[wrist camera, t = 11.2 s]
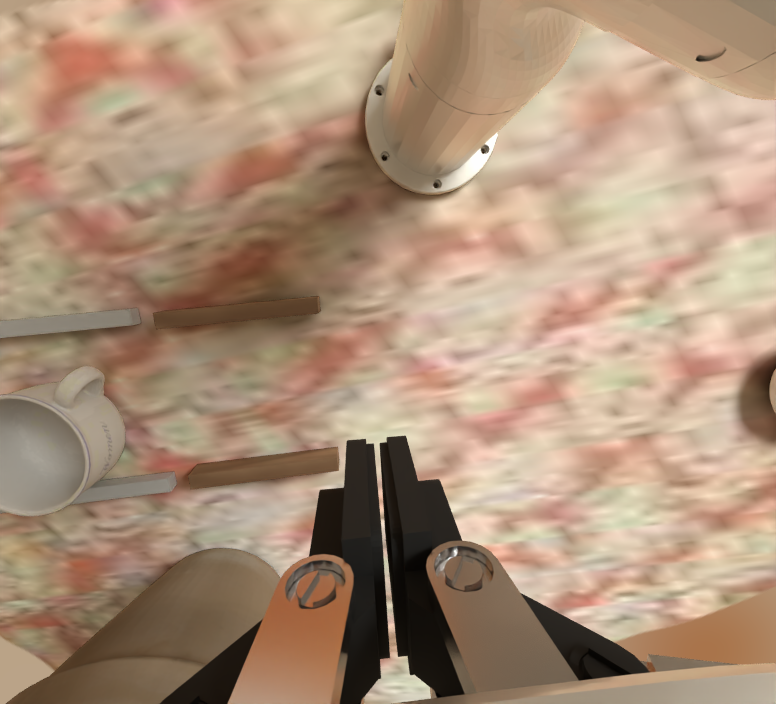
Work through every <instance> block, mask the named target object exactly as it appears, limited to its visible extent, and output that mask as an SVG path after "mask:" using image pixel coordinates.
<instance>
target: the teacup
mask: <svg viewBox="0 0 776 704" xmlns="http://www.w3.org/2000/svg"><path fill="white" fill-rule="evenodd" d="M104 381H105V377H104V374H103V373H102V372H101V371H100V370H98V369H97V368H94V367H92V366H82V367H80V368H77V369H75V370H74V371H72V372H71V373H69V374H68V375H67V376H66V377H65V378H64V379H63V380H62V381H61V382H54V383H47V384H42V385H37V386H33V387H30V388H26V389H23V390H19V391H16V392H12V393H9V394H4V395H0V510H2V511H5V512H7V513H11V514H16V515H19V516H41V515H47V514H51V513H54V512H56V511H59V510H61V509H63V508H65V507H66V506H68V505H69V504H71V503H72V502H73V501H75V500H76V499H77V498H78V496H79V495H80V494H82V493H83V492H84V491H86V490H87V489H89V488H90V487H91V486H92V485H94V484H95V483H96V482H97V481H99V480H100V479H101V478H102V477H103V476H105V475H106V474H107V473H108V472H109V471H110V470H111V469H112V467H113V466H114V465H115V464H116V463H117V461H118V459H119V458H120V456H121V454H122V452H123V449H124V445H125V438H126V432H125V426H124V422H123V419H122V417H121V414H120V412H119V411H118V409H117V408H116V407H115V405H114V404H113V403H112V402H111V401H110V400H109V399H108V398H107V397H106V396H104V388H103V387H104Z"/></svg>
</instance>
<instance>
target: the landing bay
mask: <svg viewBox="0 0 776 704" xmlns="http://www.w3.org/2000/svg"><path fill="white" fill-rule="evenodd" d="M140 323H141V320H140V315H139V311H138V308H132V309H121V310H111V311H100V312H89V313H79V314H68V315H57V316H47V317H36V318H25V319H15V320H4V321H0V338H6V337H16V336H27V335H37V334H47V333H58V332H68V331H78V330H89V329H99V328H109V327H120V326H130V325H136V324H140ZM176 485H177V481H176V477H175V472H174V471H173V472H165V473H157V474H149V475H141V476H133V477H125V478H117V479H109V480H101V481H97V482H96V483H95V484H94V485H92V486H91V487H90V488H89V489H87V490H86V491H84V492H83V493H82V494H80V495H79V496H78V498H77V499H76V500H75V501H73V502H72V503H71V504H79V503H87V502H94V501H102V500H110V499H118V498H126V497H134V496H141V495H149V494H157V493H165V492H171V491H172V490H173V489H174V487H175V486H176ZM71 504H69V505H71ZM0 513H7V512H5V511H2V510H0Z"/></svg>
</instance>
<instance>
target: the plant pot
mask: <svg viewBox="0 0 776 704" xmlns="http://www.w3.org/2000/svg"><path fill="white" fill-rule="evenodd" d="M280 579H281V578H280V577H279V575H278V574H277V573H276V571H275V570H274V569H273V568H272V567H271V566H270V565H269V564H267V563H266V562H265V561H263V560H262V559H260V558H259V557H257V556H255V555H252V554H250V553H247V552H244V551H241V550H236V549H226V548H215V549H209V550H204V551H200V552H197V553H195V554H192V555H190V556H188V557H186V558H184V559H183V560H181V561H180V562H178V563H177V564H176V565H174V566H173V567H172V568H171V569H170V570H168V571H167V572H166V573H165V574H164V575H162V576H161V577H160V578H159V579H158V580H157V581H155V582H154V583H153V584H152V585H151V586H150V587H148V588H147V589H146V590H145V591H144V592H143V593H142V594H140V595H139V596H138V597H137V598H136V599H135V600H134V601H132V602H131V603H130V604H129V605H128V606H127V607H126V608H125V609H123V610H122V611H121V612H120V613H119V614H118V615H117V616H116V617H114V618H113V619H112V620H111V621H110V622H109V623H108V624H107V625H105V626H104V627H103V628H102V629H101V630H100V631H99V632H98V633H96V634H95V635H94V636H93V637H92V638H91V639H90V640H89V641H87V642H86V643H85V644H84V645H83V646H82V647H81V648H80V649H78V650H77V651H76V652H75V653H74V654H73V655H72V656H71V657H70V658H69V659H68V660H66V661H65V662H64V663H63V664H62V665H61V666H60V667H59V668H58V669H57V670H56V671H55V672H53V673H52V674H51V675H50V676H49V677H47V678H45V679H43V680H41V681H39V682H37V683H36V684H34V685H32V686H30V687H28V688H27V689H25V690H24V691H22V692H21V693H19V694H18V695H16V696H15V697H14V698H12V699H11V700H10V701H9V702H7V703H6V704H160V703H161V702H162V701H163V700H164V699H165V698H166V697H167V696H169V695H170V694H171V693H172V692H174V691H175V690H176V689H177V688H178V687H180V686H181V685H182V684H183V683H185V682H186V681H187V680H188V679H190V678H191V677H192V676H193V675H194V674H196V673H197V672H198V671H199V670H201V669H202V668H203V667H204V666H206V665H207V664H208V663H209V662H210V661H212V660H213V659H214V658H215V657H217V656H218V655H219V654H220V653H221V652H223V651H224V650H225V649H226V648H228V647H229V646H230V645H231V644H233V643H234V642H235V641H236V640H237V639H239V638H240V637H241V636H242V635H244V634H245V633H246V632H247V631H249V630H250V629H251V628H252V627H253V626H255V625H256V624H257V623H258V622H260V621H261V620H262V619H263V618H264V616H265V613H266V611H267V608H268V606H269V604H270V601H271V599H272V597H273V594H274V592H275V589H276V587H277V585H278V582H279V581H280Z"/></svg>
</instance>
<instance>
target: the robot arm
mask: <svg viewBox="0 0 776 704" xmlns="http://www.w3.org/2000/svg"><path fill="white" fill-rule="evenodd" d="M584 21H586V22H588V23H590V24H591V25H593V26H595V27H597V28H599V29H601V30H603V31H606V32H611V33H613V34H615V35H617V36H619V37H621V38H623V39H625V40H627V41H629V42H630V43H632V44H634V45H636V46H638V47H640V48H642V49H644V50H646V51H648V52H650V53H651V54H653V55H655V56H657V57H659V58H661V59H663V60H665V61H667V62H669V63H670V64H672V65H674V66H676V67H678V68H680V69H682V70H684V71H686V72H688V73H690V74H691V75H693V76H696V77H699V78H701V79H703V80H705V81H707V82H709V83H711V84H713V85H715V86H717V87H719V88H722V89H724V90H727V91H729V92H731V93H734V94H736V95H740V96H744V97H748V98H753V99H761V100H776V0H404V4H403V9H402V14H401V19H400V24H399V29H398V35H397V40H396V45H395V50H394V55H393V58H392V59H390V60H389V61H388V62H387V63H386V64H385V66H384V67H383V68H382V69H381V70H380V71H379V73H378V75H377V77H376V78H375V80H374V82H373V84H372V86H371V89H370V92H369V95H368V98H367V104H366V110H365V129H366V137H367V140H368V144H369V148H370V150H371V153H372V155H373V157H374V159H375V161H376V162H377V164H378V165H379V167H380V168H381V170H382V171H383V172H384V173H385V174H386V175H387V176H388V177H389V178H390V179H391V180H392V181H393V182H395V183H396V184H398V185H399V186H401V187H403V188H405V189H407V190H410V191H412V192H415V193H420V194H426V195H435V194H443V193H447V192H451V191H453V190H455V189H457V188H460V187H462V186H463V185H464V184H466V183H467V182H469V181H470V180H471V179H473V178H474V177H475V176H476V175H477V174H478V173H479V172H480V171H481V169H482V168H483V167H484V166H485V164H486V163H487V161H488V160H489V158H490V156H491V154H492V152H493V150H494V147H495V143H496V140H497V137H498V131H499V130H500V129H501V128H502V127H503V126H504V125H506V124H507V123H508V122H509V121H510V120H511V119H512V118H513V117H514V116H515V115H516V114H517V113H518V112H519V111H520V110H521V109H522V108H523V107H524V106H525V105H526V104H527V103H528V102H530V101H531V100H532V99H533V98H534V97H535V96H536V95H537V94H538V93H539V92H540V91H541V90H542V89H543V88H544V87H545V86H546V85H547V84H548V83H549V82H550V81H551V80H552V79H553V77H554V76H555V75H556V74H557V72H558V71H559V70H560V69H561V67H562V66H563V65H564V63H565V62H566V60H567V59H568V57H569V55H570V53H571V52H572V50H573V48H574V46H575V44H576V42H577V40H578V38H579V35H580V33H581V30H582V27H583V24H584ZM377 92H380V93H381V96H379V95H377V94H376V93H377ZM481 149H482V150H484V154H482V153H481ZM383 156H385V157H386V158H387V160H386V161H383V160H382V157H383ZM434 183H436V184H437V185H438V188H434V186H433V184H434ZM380 456H381V472H382V488H383V504H384V520H385V534H386V545H387V554H388V564H389V574H390V584H391V593H392V603H393V613H394V623H395V633H396V642H397V652H398V657H401V656H408V663H409V671H410V675H414V674H415V675H416V676H417V677H418V678H419V679H421V680H422V681H423V682H424V683H426V684H427V685H428V686H429V687H430V693H431V699H425V700H417V701H409V702H401V703H393V704H776V663H766V664H747V665H738V664H729V663H720V662H711V661H703V660H694V659H685V658H676V657H667V656H659V655H650V654H648V658H647V662H644V661H639V660H638V659H637V658H636V657H635V656H634V655H633V654H631V653H630V652H628V651H627V650H625V649H624V648H622V647H621V646H619V645H618V644H616V643H614V642H612V641H610V640H608V639H606V638H604V637H603V636H601V635H599V634H597V633H595V632H593V631H591V630H589V629H587V628H586V627H584V626H582V625H580V624H578V623H576V622H574V621H572V620H570V619H569V618H567V617H565V616H563V615H561V614H559V613H557V612H555V611H554V610H552V609H550V608H548V607H546V606H544V605H542V604H540V603H538V602H537V601H535V600H533V599H531V598H529V597H527V596H525V595H523V594H521V593H520V592H519V590H518V589H517V587H516V586H515V585H514V583H513V582H512V580H511V579H510V577H509V576H508V574H507V573H506V571H505V570H504V568H503V567H502V565H501V564H500V562H499V561H498V559H497V558H496V557H495V556H494V555H493V554H492V553H491V552H490V551H489V550H487V549H486V548H484V547H483V546H481V545H478V544H475V543H473V542H468V541H462V539H461V536H460V534H459V531H458V528H457V525H456V523H455V520H454V517H453V515H452V512H451V509H450V506H449V504H448V501H447V498H446V496H445V493H444V490H443V487H442V485H441V482H440V480H439V479H436V480H425V481H418V479H417V475H416V471H415V468H414V464H413V460H412V457H411V453H410V449H409V446H408V442H407V438H406V436H396V437H387V442H386V443H380ZM384 658H390V652H389V636H388V621H387V606H386V590H385V575H384V559H383V545H382V531H381V520H380V509H379V497H378V486H377V475H376V464H375V452H374V444H366V439H360V440H348V441H347V446H346V464H345V483H344V488H336V489H325V490H320V492H319V498H318V504H317V510H316V516H315V523H314V529H313V535H312V542H311V548H310V554H309V557H307V558H304V559H302V560H300V561H298V562H297V563H295V564H293V565H292V566H291V567H290V568H289V569H288V570H287V571H286V572H285V573H284V574H283V576H282V577H281V579H280V581H279V582H278V585H277V587H276V589H275V592H274V594H273V597H272V599H271V601H270V604H269V606H268V608H267V611H266V613H265V616H264V618H263V619H262V620H261V621H260V622H258V623H257V624H256V625H255V626H253V627H252V628H251V629H250V630H249V631H247V632H246V633H245V634H244V635H242V636H241V637H240V638H239V639H237V640H236V641H235V642H234V643H233V644H231V645H230V646H229V647H228V648H226V649H225V650H224V651H223V652H221V653H220V654H219V655H218V656H217V657H215V658H214V659H213V660H212V661H210V662H209V663H208V664H207V665H206V666H204V667H203V668H202V669H201V670H199V671H198V672H197V673H196V674H194V675H193V676H192V677H191V678H190V679H188V680H187V681H186V682H185V683H183V684H182V685H181V686H180V687H178V688H177V689H176V690H175V691H174V692H172V693H171V694H170V695H169V696H167V697H166V698H165V699H164V700H163V701H162V702H161V703H160V704H365V699H364V696H365V695H366V694H367V693H368V691H369V690H370V689H371V688H372V686H373V685H374V684H375V683H376V681H377V680H378V679H381V671H380V659H384Z"/></svg>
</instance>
